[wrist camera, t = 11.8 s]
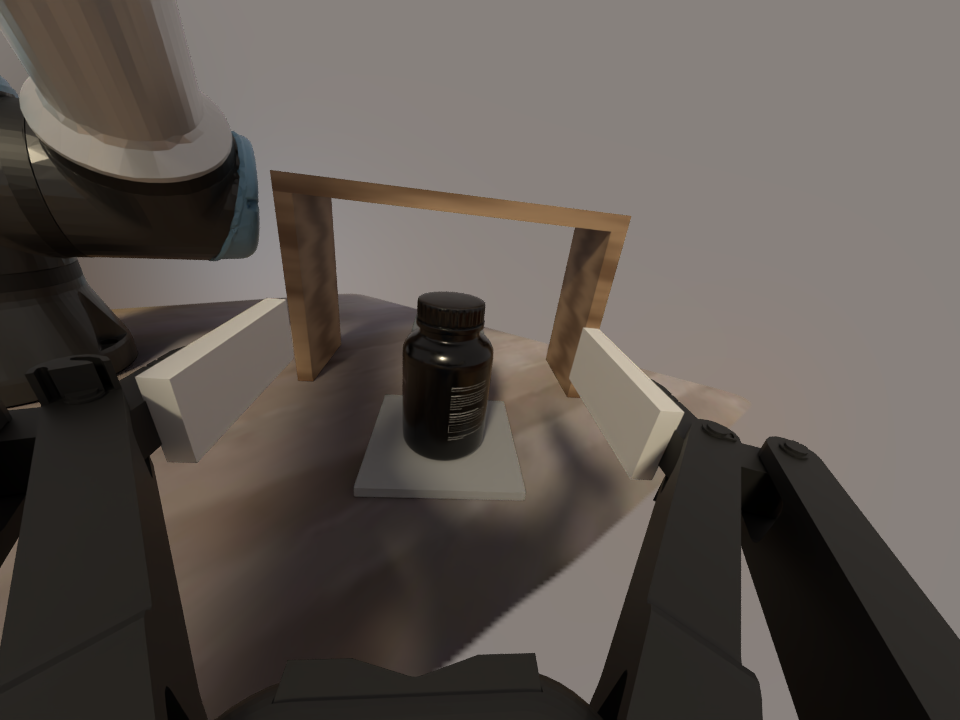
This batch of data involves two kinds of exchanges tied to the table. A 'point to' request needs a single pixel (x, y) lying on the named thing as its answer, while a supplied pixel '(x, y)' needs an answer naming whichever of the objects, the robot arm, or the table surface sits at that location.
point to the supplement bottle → (446, 377)
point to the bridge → (311, 222)
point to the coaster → (440, 463)
